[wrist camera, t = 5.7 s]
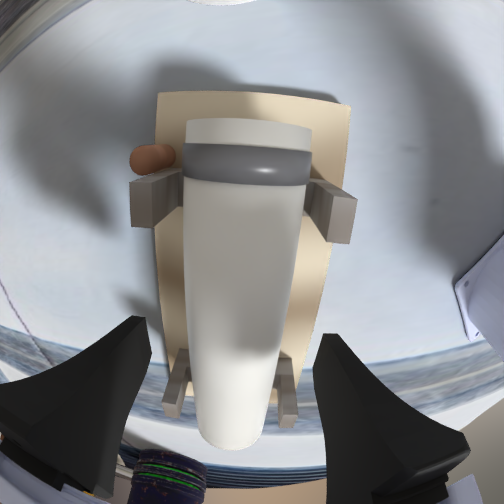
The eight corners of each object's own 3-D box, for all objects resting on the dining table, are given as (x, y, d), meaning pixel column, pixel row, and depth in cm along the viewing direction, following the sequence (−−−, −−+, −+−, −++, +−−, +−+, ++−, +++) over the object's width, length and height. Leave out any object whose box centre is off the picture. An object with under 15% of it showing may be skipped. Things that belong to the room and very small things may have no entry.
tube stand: (162, 95, 11) (109, 74, 6) (344, 108, 12) (395, 91, 6) (176, 383, 19) (160, 439, 14) (290, 394, 19) (295, 452, 14)
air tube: (264, 401, 16) (263, 453, 12) (202, 395, 16) (191, 446, 12) (304, 133, 10) (328, 128, 6) (200, 126, 10) (165, 117, 6)
